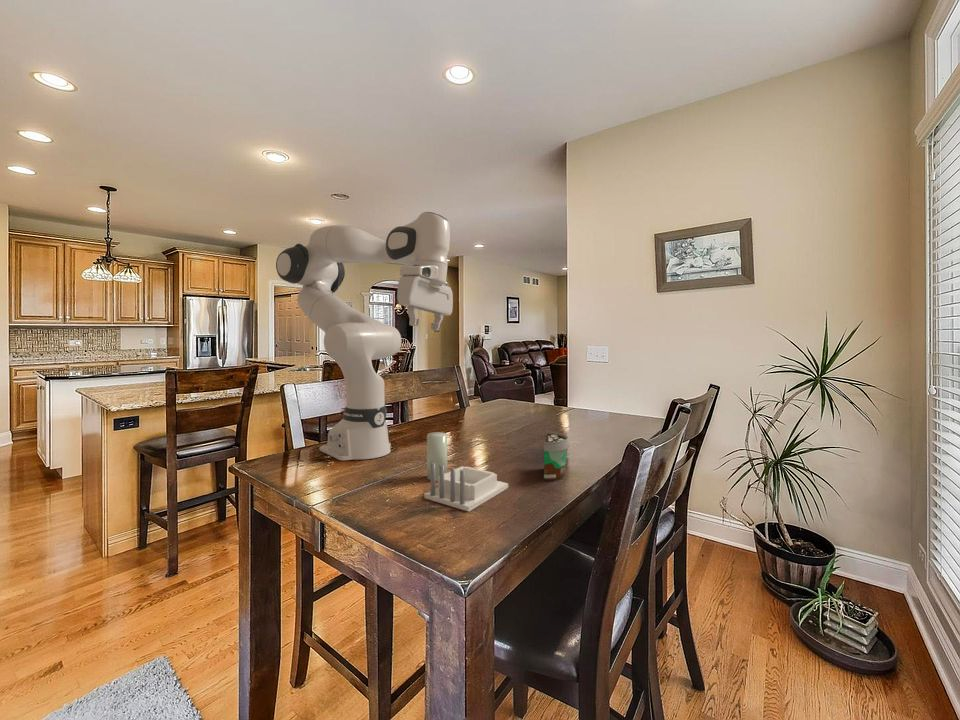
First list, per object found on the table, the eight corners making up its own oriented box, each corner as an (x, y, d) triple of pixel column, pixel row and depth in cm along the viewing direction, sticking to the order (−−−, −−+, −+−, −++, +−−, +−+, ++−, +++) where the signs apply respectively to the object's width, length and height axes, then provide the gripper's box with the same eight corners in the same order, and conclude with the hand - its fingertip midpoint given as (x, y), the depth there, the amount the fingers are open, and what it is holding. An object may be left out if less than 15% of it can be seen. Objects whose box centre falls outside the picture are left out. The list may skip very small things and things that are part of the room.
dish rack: (424, 498, 91) (424, 462, 91) (467, 477, 105) (467, 446, 104) (468, 511, 85) (469, 473, 84) (508, 487, 98) (508, 454, 97)
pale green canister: (422, 478, 104) (422, 435, 103) (435, 473, 108) (435, 431, 107) (438, 482, 101) (438, 438, 100) (451, 476, 105) (451, 434, 104)
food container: (569, 485, 100) (570, 444, 99) (543, 483, 101) (544, 442, 101) (568, 468, 112) (569, 432, 111) (545, 466, 113) (546, 430, 113)
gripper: (441, 283, 120) (437, 331, 120) (395, 266, 102) (389, 322, 102) (460, 283, 117) (455, 332, 117) (416, 265, 99) (410, 323, 99)
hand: (424, 328), depth 109 cm, fingers open, 8 cm apart
